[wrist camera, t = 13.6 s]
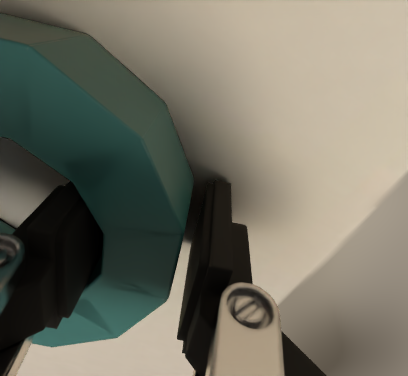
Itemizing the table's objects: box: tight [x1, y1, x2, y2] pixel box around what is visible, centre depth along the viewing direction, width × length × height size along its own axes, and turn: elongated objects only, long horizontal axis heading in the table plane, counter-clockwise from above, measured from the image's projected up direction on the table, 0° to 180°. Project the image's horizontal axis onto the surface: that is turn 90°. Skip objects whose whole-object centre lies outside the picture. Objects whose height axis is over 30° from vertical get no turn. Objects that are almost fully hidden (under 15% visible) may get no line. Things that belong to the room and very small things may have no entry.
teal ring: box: [0, 13, 194, 347], centre depth 9 cm, size 10×10×3 cm
